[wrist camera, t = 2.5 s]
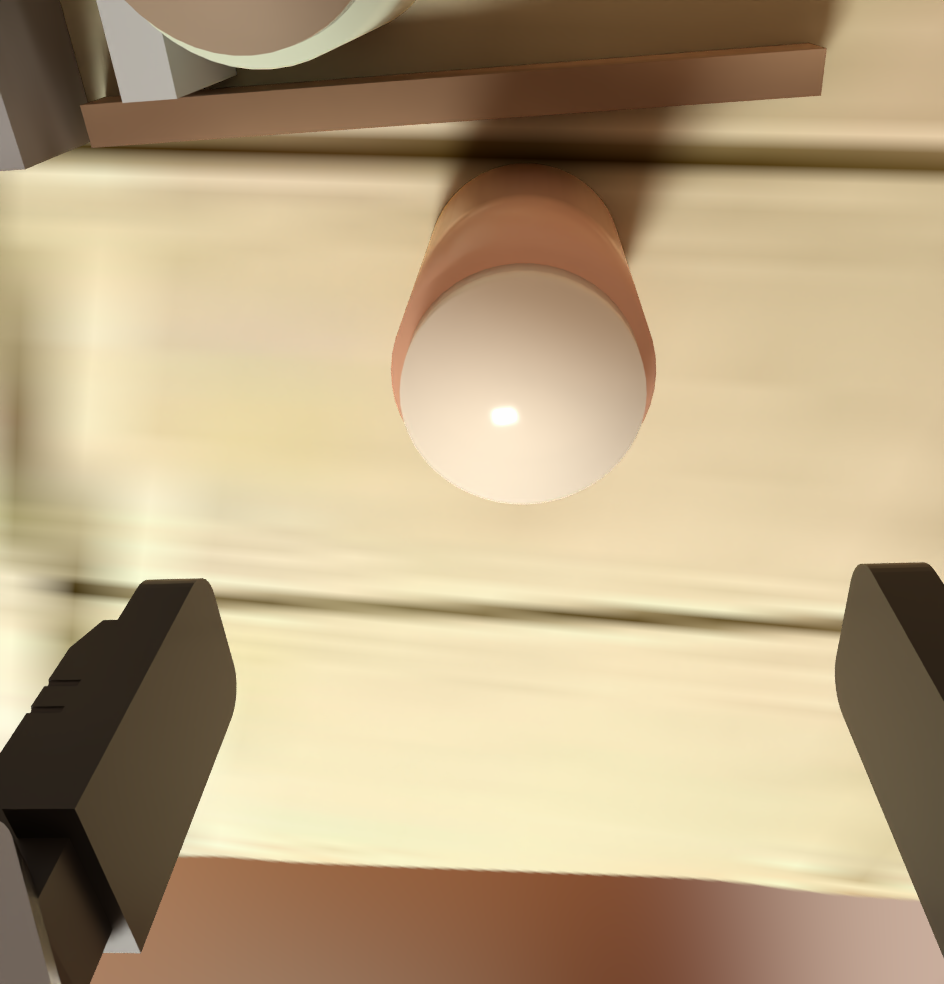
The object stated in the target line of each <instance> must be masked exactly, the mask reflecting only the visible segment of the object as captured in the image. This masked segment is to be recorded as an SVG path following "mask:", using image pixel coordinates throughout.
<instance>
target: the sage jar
mask: <svg viewBox="0 0 944 984" xmlns="http://www.w3.org/2000/svg"><path fill="white" fill-rule="evenodd" d="M125 1H126V2H127V3H128V4H129V5H130V6H131V7H132V8H133V9H134V10H135V11H136V12H137V13H138V14H140V15H141V16H142V17H143V18H145V19H146V20H147V21H148V22H149V23H150V24H151V25H152V26H153V27H154V28H156V29H157V30H158V31H160V32H161V33H162V34H164V35H165V36H166V37H168V38H169V39H170V40H172V41H173V42H175V43H177V44H178V45H180V46H182V47H183V48H185V49H187V50H188V51H190V52H192V53H194V54H197V55H199V56H201V57H204V58H206V59H208V60H211V61H214V62H217V63H221V64H224V65H228V66H231V67H238V68H246V69H277V68H283V67H289V66H294V65H297V64H300V63H303V62H306V61H309V60H312V59H314V58H316V57H318V56H320V55H322V54H324V53H327V52H329V51H331V50H333V49H335V48H337V47H339V46H341V45H343V44H345V43H347V42H350V41H352V40H354V39H356V38H358V37H360V36H362V35H364V34H366V33H368V32H371V31H373V30H375V29H377V28H379V27H381V26H383V25H385V24H387V23H389V22H391V21H392V20H394V19H395V18H397V17H398V16H400V15H401V14H403V13H404V12H405V11H406V10H407V9H408V8H409V7H410V6H411V5H412V4H413V3H414V2H415V1H416V0H125Z"/></svg>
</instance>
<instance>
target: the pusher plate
mask: <svg viewBox="0 0 944 984" xmlns="http://www.w3.org/2000/svg"><path fill="white" fill-rule="evenodd" d="M96 2H97V6H98V10H99V13H100V17H101V21H102V25H103V29H104V33H105V37H106V41H107V44H108V48H109V52H110V56H111V60H112V64H113V68H114V72H115V76H116V79H117V83H118V87H119V91H120V95H121V99H122V103H129V102H142V101H155V100H168V99H178V98H180V97H183V96H185V95H188V94H190V93H193V92H195V91H198V90H200V89H203V88H205V87H208V86H210V85H213V84H215V83H218V82H220V81H223V80H225V79H228V78H230V77H233V76H235V75H237V72H236V67H231V66H228V65H224V64H221V63H217V62H214V61H211V60H208V59H206V58H204V57H201V56H199V55H197V54H194V53H192V52H190V51H188V50H187V49H185V48H183V47H182V46H180V45H178V44H177V43H175V42H173V41H172V40H170V39H169V38H168V37H166V36H165V35H164V34H162V33H161V32H160V31H158V30H157V29H156V28H154V27H153V26H152V25H151V24H150V23H149V22H148V21H147V20H146V19H145V18H143V17H142V16H141V15H140V14H138V13H137V12H136V11H135V10H134V9H133V8H132V7H131V6H130V5H129V4H128V3H127V2H126V1H125V0H96Z"/></svg>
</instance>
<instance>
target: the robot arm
mask: <svg viewBox="0 0 944 984" xmlns="http://www.w3.org/2000/svg"><path fill="white" fill-rule="evenodd" d="M835 683H836V691H837V697H838V702H839V705H840V709H841V712H842V714H843V717H844V719H845V722H846V724H847V726H848V729H849V731H850V734H851V736H852V738H853V741H854V743H855V746H856V748H857V750H858V753H859V755H860V758H861V760H862V762H863V765H864V767H865V770H866V772H867V774H868V777H869V779H870V782H871V784H872V786H873V789H874V791H875V794H876V796H877V799H878V801H879V803H880V806H881V808H882V811H883V813H884V815H885V818H886V820H887V823H888V825H889V827H890V830H891V832H892V835H893V837H894V839H895V842H896V844H897V847H898V849H899V851H900V854H901V856H902V859H903V861H904V863H905V866H906V868H907V871H908V873H909V875H910V878H911V880H912V883H913V885H914V887H915V890H916V892H917V895H918V897H919V899H920V902H921V904H922V907H923V909H924V912H925V914H926V916H927V919H928V921H929V924H930V926H931V928H932V931H933V933H934V935H935V938H936V940H937V943H938V945H939V948H940V950H941V952H942V955H943V957H944V584H943V582H942V581H941V579H940V578H939V576H938V575H937V573H936V572H935V570H934V569H933V568H932V567H931V566H930V565H929V564H927V563H923V562H920V563H880V564H860V565H858V566H857V567H856V568H855V570H854V572H853V575H852V578H851V583H850V588H849V593H848V598H847V604H846V609H845V614H844V619H843V624H842V630H841V635H840V640H839V645H838V651H837V656H836V662H835ZM235 700H236V673H235V668H234V664H233V660H232V656H231V653H230V649H229V646H228V642H227V639H226V635H225V631H224V628H223V624H222V621H221V617H220V614H219V610H218V606H217V603H216V599H215V596H214V592H213V589H212V587H211V585H210V584H209V582H208V581H207V580H206V579H203V578H200V579H160V580H145V581H143V582H142V583H141V584H140V585H139V586H138V588H137V589H136V591H135V593H134V594H133V596H132V597H131V599H130V601H129V602H128V604H127V606H126V607H125V609H124V610H123V612H122V614H121V615H120V617H119V619H118V620H103V621H102V622H101V623H99V624H98V625H97V626H96V627H94V628H93V629H92V630H91V631H90V632H88V633H87V634H86V635H85V636H84V637H82V638H81V639H80V640H79V641H77V642H76V643H75V644H74V645H73V646H71V647H70V648H69V650H68V651H67V653H66V654H65V656H64V657H63V659H62V660H61V662H60V663H59V665H58V666H57V668H56V669H55V671H54V672H53V674H52V675H51V677H50V678H49V685H48V686H44V687H43V689H42V691H41V692H40V694H39V695H38V697H37V698H36V700H35V701H34V703H33V704H32V706H31V713H26V715H25V716H24V718H23V719H22V721H21V722H20V724H19V725H18V727H17V729H16V730H15V732H14V733H13V735H12V736H11V738H10V739H9V741H8V742H7V744H6V745H5V747H4V748H3V750H2V751H1V753H0V984H90V982H91V979H92V977H93V975H94V972H95V970H96V967H97V965H98V963H99V960H100V958H101V956H102V953H141V951H142V949H143V946H144V943H145V941H146V938H147V936H148V933H149V930H150V928H151V925H152V923H153V920H154V918H155V915H156V912H157V910H158V907H159V904H160V902H161V900H162V897H163V894H164V892H165V889H166V886H167V884H168V881H169V879H170V876H171V873H172V871H173V868H174V866H175V863H176V861H177V858H178V855H179V853H180V850H181V848H182V845H183V843H184V840H185V837H186V835H187V832H188V830H189V827H190V824H191V822H192V819H193V817H194V814H195V811H196V809H197V806H198V804H199V801H200V798H201V796H202V793H203V791H204V788H205V785H206V783H207V780H208V778H209V775H210V773H211V770H212V767H213V765H214V762H215V760H216V757H217V754H218V752H219V749H220V747H221V744H222V741H223V739H224V736H225V734H226V731H227V728H228V726H229V723H230V721H231V718H232V715H233V711H234V707H235Z"/></svg>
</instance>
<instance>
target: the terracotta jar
mask: <svg viewBox="0 0 944 984" xmlns="http://www.w3.org/2000/svg"><path fill="white" fill-rule="evenodd" d="M391 375H392V387H393V392H394V397H395V401H396V404H397V407H398V410H399V413H400V415H401V417H402V419H403V421H404V423H405V426H406V429H407V432H408V434H409V436H410V438H411V440H412V442H413V444H414V446H415V447H416V449H417V450H418V452H419V453H420V455H421V456H422V458H423V459H424V460H425V461H426V462H427V463H428V464H429V465H430V466H431V468H432V469H433V470H435V471H436V472H437V473H438V474H439V475H440V476H442V477H443V478H444V479H445V480H447V481H448V482H450V483H451V484H453V485H454V486H456V487H458V488H460V489H462V490H464V491H466V492H468V493H470V494H472V495H475V496H478V497H480V498H483V499H487V500H491V501H495V502H501V503H509V504H536V503H545V502H549V501H554V500H558V499H561V498H565V497H568V496H571V495H573V494H575V493H577V492H580V491H582V490H584V489H586V488H588V487H589V486H591V485H592V484H594V483H596V482H597V481H599V480H600V479H601V478H603V477H604V476H605V475H606V474H608V473H609V472H610V471H611V470H612V469H613V468H614V467H615V466H616V465H617V464H618V463H619V462H620V461H621V459H622V458H623V457H624V455H625V454H626V453H627V452H628V450H629V449H630V447H631V445H632V443H633V442H634V440H635V438H636V436H637V434H638V431H639V429H640V426H641V424H642V423H643V421H644V419H645V416H646V414H647V412H648V409H649V407H650V404H651V400H652V396H653V392H654V387H655V378H656V358H655V351H654V346H653V341H652V337H651V334H650V331H649V328H648V325H647V322H646V319H645V316H644V313H643V310H642V307H641V304H640V300H639V297H638V294H637V291H636V288H635V285H634V282H633V279H632V276H631V273H630V270H629V267H628V263H627V260H626V257H625V254H624V251H623V248H622V245H621V242H620V239H619V236H618V233H617V230H616V227H615V224H614V221H613V219H612V217H611V215H610V213H609V211H608V209H607V207H606V206H605V205H604V203H603V202H602V200H601V199H600V198H599V196H598V195H597V194H596V193H595V192H594V191H593V190H592V189H591V188H590V187H589V186H587V185H586V184H585V183H584V182H583V181H581V180H580V179H578V178H576V177H575V176H573V175H572V174H570V173H567V172H565V171H563V170H561V169H558V168H555V167H551V166H547V165H542V164H535V163H518V164H510V165H505V166H501V167H498V168H494V169H492V170H489V171H487V172H485V173H482V174H480V175H479V176H477V177H475V178H474V179H472V180H470V181H469V182H468V183H467V184H465V185H464V186H463V187H462V188H460V189H459V190H458V191H457V192H456V194H455V195H454V196H453V197H452V198H451V199H450V200H449V202H448V203H447V204H446V206H445V207H444V209H443V210H442V212H441V214H440V216H439V218H438V220H437V222H436V225H435V228H434V230H433V233H432V236H431V239H430V241H429V244H428V247H427V250H426V253H425V256H424V259H423V262H422V264H421V267H420V270H419V273H418V276H417V279H416V282H415V284H414V287H413V290H412V293H411V296H410V299H409V302H408V305H407V307H406V310H405V313H404V316H403V319H402V322H401V325H400V327H399V330H398V333H397V336H396V340H395V344H394V349H393V353H392V365H391Z"/></svg>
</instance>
